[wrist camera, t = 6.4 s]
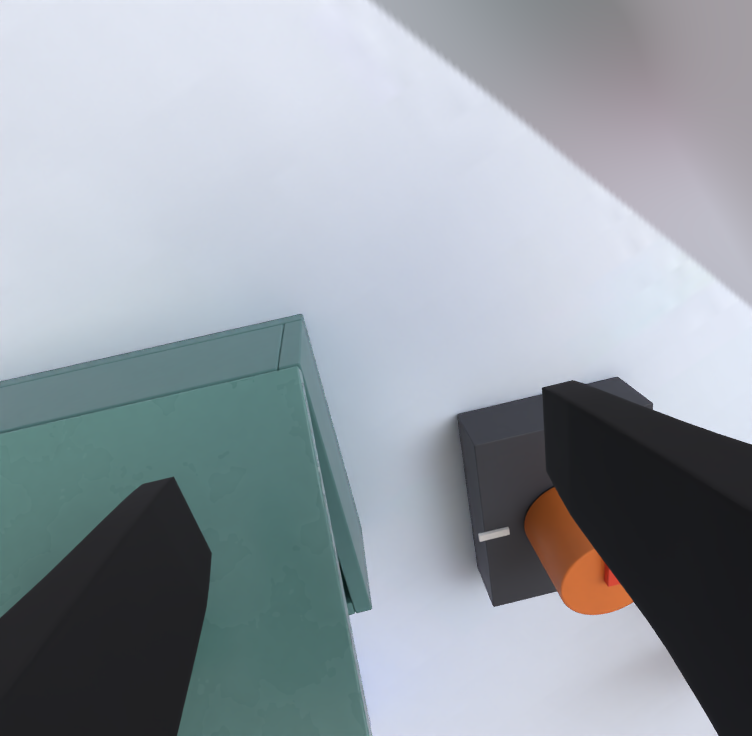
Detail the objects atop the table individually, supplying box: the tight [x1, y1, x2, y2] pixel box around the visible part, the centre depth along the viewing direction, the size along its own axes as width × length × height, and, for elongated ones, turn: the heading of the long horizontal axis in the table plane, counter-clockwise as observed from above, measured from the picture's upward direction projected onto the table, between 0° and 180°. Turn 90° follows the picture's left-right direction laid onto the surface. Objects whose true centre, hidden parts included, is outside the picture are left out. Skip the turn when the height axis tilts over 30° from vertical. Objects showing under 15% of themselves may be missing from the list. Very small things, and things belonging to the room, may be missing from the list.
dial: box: [524, 487, 633, 615], centre depth 20 cm, size 4×4×4 cm
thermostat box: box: [457, 377, 653, 607], centre depth 22 cm, size 10×8×3 cm
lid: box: [0, 366, 372, 736], centre depth 11 cm, size 12×12×4 cm
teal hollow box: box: [0, 314, 372, 615], centre depth 19 cm, size 11×12×5 cm
